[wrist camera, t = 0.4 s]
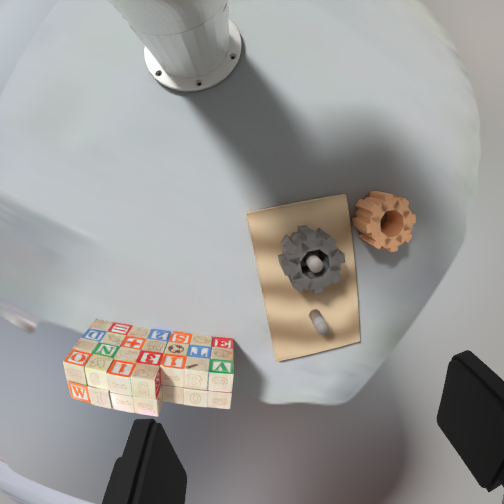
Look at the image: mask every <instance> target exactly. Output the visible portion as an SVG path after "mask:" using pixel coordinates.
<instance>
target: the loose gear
mask: <svg viewBox="0 0 504 504" xmlns="http://www.w3.org/2000/svg"><path fill="white" fill-rule="evenodd" d="M369 193H370V197H365V199H364V200H362V199H359V200H358V201H357V203H356V204H355V206H356V207H358V209H357V211H356V217H354V218H352V223H353V226H354V227H356V228H358V230H359V231H360V232H361V234H360V235H359V237H360V238H361V239H363V240H364V241H366V242H367V243H369V244H371V245H372V246H374V247H375V248H377V249H380V248H381V247H383V248H384V249H386V250H388V251H389V252H394V251H398V246H399V245H402V244H403V243H404V241H405V242H407V243H409V241H410V239H411V238H412V235H411V234H410V232H411V230H412V224H414V223H416V215H415V214H412V213H411V210H410V209H409V208H408V205H409V204H410V202H409V201H408V200H406V199H405V198H403V197H399V196H395V195H393V194H390V193H385V192H380V191H372V192H369ZM385 212H386V215H387V221H386V222H385V224H384V225H383V227H382V228H381V226H380V220H381V218H382V217H383V215H384V214H385Z"/></svg>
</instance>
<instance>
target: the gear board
mask: <svg viewBox="0 0 504 504" xmlns="http://www.w3.org/2000/svg"><path fill="white" fill-rule="evenodd" d="M246 214H247V219H248V224H249V229H250V234H251V239H252V244H253V249H254V254H255V259H256V263H257V268H258V273H259V278H260V283H261V288H262V293H263V298H264V303H265V308H266V313H267V318H268V323H269V328H270V333H271V338H272V343H273V348H274V352H275V357H276V362H278V361H282V360H287V359H292V358H296V357H301V356H305V355H309V354H313V353H317V352H322V351H326V350H329V349H333V348H337V347H341V346H345V345H349V344H352V343H356V342H359V341H360V328H359V310H358V296H357V283H356V272H355V261H354V251H353V242H352V233H351V225H350V217H349V210H348V203H347V196H346V195H345V194H339V195H333V196H328V197H322V198H317V199H311V200H306V201H301V202H295V203H290V204H285V205H280V206H275V207H270V208H265V209H260V210H255V211H250V212H246Z"/></svg>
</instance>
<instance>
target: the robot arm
mask: <svg viewBox="0 0 504 504" xmlns="http://www.w3.org/2000/svg"><path fill="white" fill-rule="evenodd" d="M108 1H109V2H110V3H111V4H112V5H113V6H114V7H115V8H116V9H117V10H118V11H119V13H120V14H121V15H122V16H123V18H124V19H125V20H126V21H127V23H128V24H129V26H130V27H131V28H132V29H133V31H134V32H135V33H136V35H137V36H138V37H139V38H140V40H141V41H142V42H143V44H144V45H145V49H144V59H145V63H146V66H147V68H148V70H149V72H150V73H151V75H152V76H153V77H154V78H155V79H156V80H157V81H158V82H159V83H161V84H162V85H164V86H166V87H168V88H171V89H173V90H177V91H184V92H188V91H199V90H204V89H206V88H209V87H212V86H214V85H216V84H217V83H219V82H221V81H222V80H223V79H225V78H226V77H227V76H228V75H229V74H230V73H231V72H232V71H233V70H234V68H235V66H236V64H237V63H238V60H239V57H240V55H241V36H240V33H239V31H238V28H237V26H236V25H235V24H234V23H233V21H232V20H231V19H230V18H229V10H228V0H108ZM231 57H234V58H235V59H231ZM160 73H161V75H160V76H158V75H159V74H160ZM198 83H201V86H198ZM437 423H438V425H439V427H440V428H441V430H442V431H443V433H444V434H445V435H446V437H447V438H448V440H449V441H450V443H451V444H452V445H453V447H454V448H455V450H456V451H457V452H458V454H459V455H460V456H461V458H462V460H463V461H464V463H465V464H466V465H467V467H468V468H469V470H470V471H471V473H472V474H473V476H474V477H475V479H476V480H477V482H478V483H479V485H480V486H481V487H483V488H486V489H487V490H488V492H490V491H492V490H494V489H495V488H497V487H498V486H500V485H501V484H502V485H503V487H504V381H503V380H502V379H501V378H500V377H499V376H498V375H497V374H496V373H494V372H493V371H492V370H491V369H490V368H489V367H488V366H487V365H486V364H484V363H483V362H482V361H481V360H480V359H479V358H478V357H477V356H475V355H474V354H473V353H472V352H471V351H469V350H466V351H464V352H462V353H459V354H457V355H454V356H453V357H452V360H451V361H450V362H449V365H448V370H447V375H446V380H445V384H444V389H443V394H442V398H441V403H440V406H439V410H438V414H437ZM186 485H187V475H186V472H185V470H184V468H183V466H182V464H181V462H180V460H179V459H178V457H177V455H176V453H175V451H174V449H173V447H172V445H171V443H170V441H169V439H168V437H167V435H166V433H165V431H164V429H163V427H162V425H161V424H160V423H156V421H155V420H154V419H136V420H135V421H134V423H133V426H132V429H131V431H130V435H129V437H128V440H127V443H126V446H125V449H124V452H123V455H122V457H119V458H118V459H117V460H116V462H115V465H114V468H113V471H112V474H111V477H110V480H109V483H108V486H107V489H106V492H105V496H104V499H103V502H102V504H184V503H185V494H186ZM502 504H504V495H503V500H502Z"/></svg>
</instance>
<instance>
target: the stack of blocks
mask: <svg viewBox="0 0 504 504" xmlns="http://www.w3.org/2000/svg"><path fill="white" fill-rule="evenodd" d="M233 346H234V340H233V339H232V338H220V337H212V336H206V335H197V334H189V333H182V332H174V331H173V332H171V331H164V330H156V329H149V328H142V327H136V326H132V325H126V324H120V323H114V322H110V321H104V320H99V319H96V320H95V321H94V323H93V324H92V325H91V326H90V328H89V329H88V330H87V331H86V333H85V334H84V335H83V336H82V337H81V339H79V341H78V342H77V343H76V344H75V346H74V347H73V348H72V351H71V352H70V353H69V355H68V356H67V357H66V358H65V360H64V361H63V364H64V369H65V374H66V379H67V380H68V386H69V391H70V394H71V397H72V398H73V399H77V400H81V401H84V402H88V403H92V404H93V405H97V406H101V407H106V408H113V409H116V410H121V411H126V412H132V413H135V412H136V413H139V414H145V415H152V416H159V412H160V408H161V405H162V402H169V403H176V404H184V405H189V406H197V407H211V408H222V409H230V405H231V397H232V386H233V377H234V361H233V359H234V350H233Z"/></svg>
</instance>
